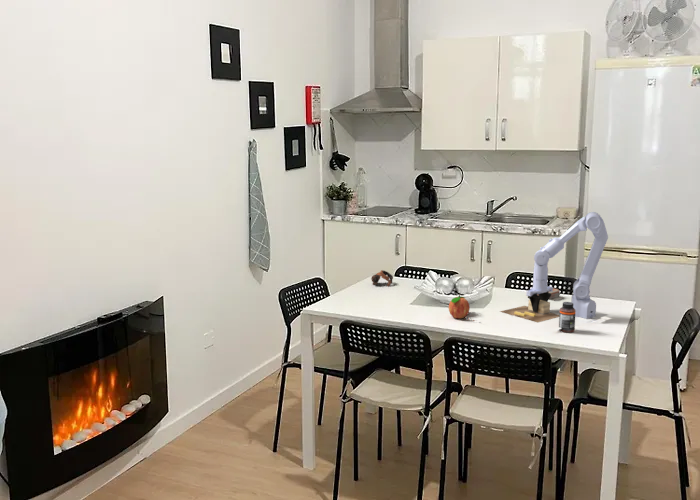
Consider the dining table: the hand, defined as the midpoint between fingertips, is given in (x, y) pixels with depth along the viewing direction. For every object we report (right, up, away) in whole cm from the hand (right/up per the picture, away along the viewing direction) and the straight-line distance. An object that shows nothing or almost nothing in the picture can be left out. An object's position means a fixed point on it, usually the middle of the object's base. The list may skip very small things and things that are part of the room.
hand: (538, 310), depth 293 cm
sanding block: (0, -1, 0) cm, 1 cm away
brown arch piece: (-64, +8, +55) cm, 85 cm away
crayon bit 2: (-5, -2, -5) cm, 7 cm away
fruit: (-34, -3, -3) cm, 35 cm away
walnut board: (-4, -3, -2) cm, 5 cm away
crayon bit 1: (-9, -1, -4) cm, 10 cm away
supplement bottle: (+5, -6, -21) cm, 23 cm away
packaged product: (+9, +2, +26) cm, 27 cm away
